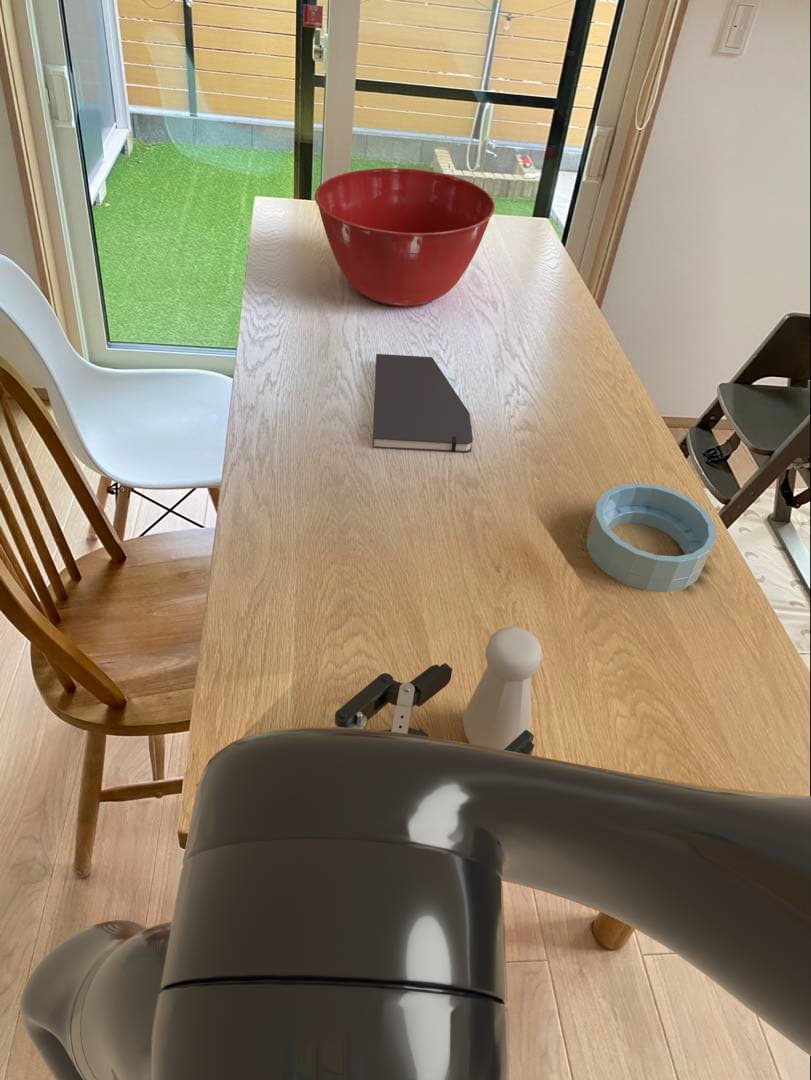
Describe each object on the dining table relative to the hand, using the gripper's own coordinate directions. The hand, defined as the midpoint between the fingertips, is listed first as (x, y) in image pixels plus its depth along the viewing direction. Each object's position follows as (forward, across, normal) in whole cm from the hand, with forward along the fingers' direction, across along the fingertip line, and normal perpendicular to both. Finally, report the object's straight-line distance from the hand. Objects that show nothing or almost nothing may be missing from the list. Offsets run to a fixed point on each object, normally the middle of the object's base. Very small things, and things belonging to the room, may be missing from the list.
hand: (487, 703), depth 62 cm
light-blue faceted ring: (+32, +4, +8) cm, 33 cm away
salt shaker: (+2, 0, +8) cm, 8 cm away
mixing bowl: (+58, +69, +8) cm, 91 cm away
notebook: (+36, +42, +8) cm, 55 cm away
